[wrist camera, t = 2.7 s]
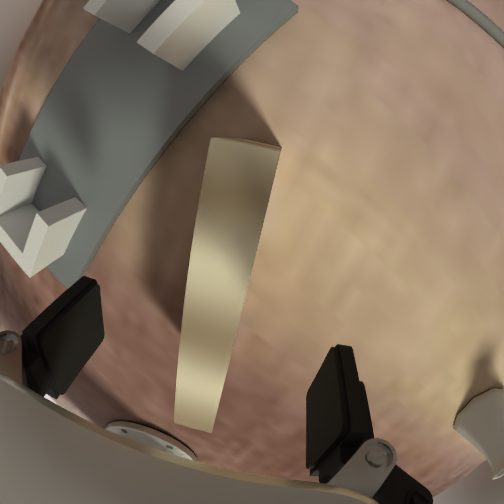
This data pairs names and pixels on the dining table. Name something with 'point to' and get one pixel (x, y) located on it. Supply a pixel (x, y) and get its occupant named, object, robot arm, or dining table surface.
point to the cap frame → (119, 119)
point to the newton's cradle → (480, 19)
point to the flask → (485, 427)
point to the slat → (220, 270)
